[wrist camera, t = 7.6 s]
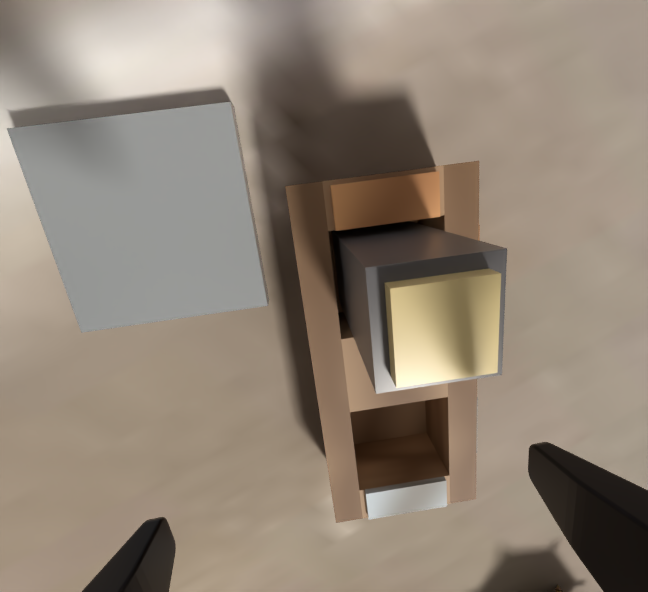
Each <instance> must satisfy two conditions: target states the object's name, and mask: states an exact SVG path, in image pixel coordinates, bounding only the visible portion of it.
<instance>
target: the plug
mask: <svg viewBox="0 0 648 592" xmlns="http://www.w3.org/2000/svg"><path fill="white" fill-rule="evenodd" d="M332 236H333V245H334V255H335V264H336V273H337V282H338V291H339V300H340V304H341V307H342V309H343V312H344V314H345V317H346V320H347V322H348V325H349V327H350V330H351V332H352V335H353V337H354V340H355V342H356V345H357V347H358V350H359V352H360V355H361V357H362V360H363V362H364V365H365V367H366V370H367V373H368V375H369V378H370V380H371V383H372V385H373V388H374V390H375V393H376V394H378V393H385V392H392V391H398V390H405V389H412V388H418V387H425V386H432V385H438V384H445V383H451V382H458V381H465V380H471V379H478V378H485V377H491V376H498V375H502V358H503V334H504V310H505V285H506V261H507V248H503V247H500V246H496V245H492V244H489V243H485V242H482V241H478V240H475V239H471V238H468V237H464V236H461V235H457V234H453V233H450V232H446V231H443V230H439V229H436V228H432V227H429V226H425V225H422V224H418V223H415V222H411V221H405V222H398V223H391V224H383V225H376V226H369V227H361V228H354V229H347V230H340V231H336V230H333V231H332Z"/></svg>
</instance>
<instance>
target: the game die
mask: <svg viewBox="0 0 648 592" xmlns="http://www.w3.org/2000/svg"><path fill="white" fill-rule="evenodd" d="M555 590H556V592H563V591H562V590H561V588H560V587H559V586H558V584H557V587H556V589H555Z"/></svg>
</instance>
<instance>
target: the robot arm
mask: <svg viewBox="0 0 648 592" xmlns="http://www.w3.org/2000/svg"><path fill="white" fill-rule="evenodd" d="M528 472H529V476H530V479H531V481H532V483H533V484H534V486H535V488H536V489H537V491H538V493H539V494H540V496H541V498H542V499H543V501H544V502H545V504H546V506H547V507H548V509H549V511H550V512H551V514H552V516H553V517H554V519H555V521H556V522H557V524H558V526H559V527H560V529H561V531H562V532H563V534H564V536H565V537H566V539H567V540H568V542H569V544H570V545H571V547H572V548H573V550H574V551H575V552H576V554H577V555H578V557H579V558H580V560H581V561H582V562H583V564H584V565H585V566H586V568H587V569H588V571H589V572H590V573H591V575H592V576H593V577H594V579H595V580H596V582H597V583H598V584H599V586H600V587H601V589H602V590H603V591H604V592H648V490H646V489H644V488H642V487H640V486H638V485H636V484H634V483H631V482H629V481H627V480H625V479H623V478H621V477H619V476H617V475H615V474H613V473H611V472H609V471H607V470H605V469H603V468H601V467H598V466H596V465H594V464H592V463H590V462H588V461H586V460H584V459H582V458H580V457H578V456H576V455H574V454H572V453H570V452H568V451H565V450H563V449H561V448H559V447H557V446H555V445H553V444H551V443H548V442H542V443H537V444H532V445H531V446H530V448H529V462H528ZM175 549H176V547H175V540H174V538H173V535H172V532H171V530H170V527H169V524H168V522H167V520H166V518H164V517H160V518H154V519H149V520H147V521H145V522H144V523H143V524H142V525H141V526H140V528H139V529H138V530H137V531H136V532H135V533H134V534H133V535H132V536H131V538H130V539H129V540H128V541H127V542H126V543H125V544H124V545H123V546H122V548H121V549H120V550H119V551H118V552H117V553H116V554H115V555H114V556H113V558H112V559H111V560H110V561H109V562H108V563H107V564H106V565H105V566H104V567H103V569H102V570H101V571H100V572H99V573H98V574H97V575H96V576H95V577H94V579H93V580H92V581H91V582H90V583H89V584H88V585H87V586H86V587H85V589H84V590H83V591H82V592H169V587H170V581H171V575H172V569H173V563H174V557H175Z"/></svg>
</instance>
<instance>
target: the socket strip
mask: <svg viewBox="0 0 648 592" xmlns="http://www.w3.org/2000/svg"><path fill="white" fill-rule="evenodd" d="M285 188H286V195H287V202H288V208H289V215H290V221H291V228H292V235H293V241H294V248H295V254H296V261H297V268H298V274H299V281H300V287H301V294H302V301H303V307H304V314H305V320H306V327H307V334H308V340H309V347H310V353H311V360H312V367H313V373H314V380H315V386H316V393H317V400H318V406H319V413H320V419H321V426H322V433H323V439H324V446H325V452H326V459H327V466H328V472H329V479H330V485H331V492H332V499H333V505H334V512H335V518H336V523H338V522H344V521H350V520H356V519H362V518H369V519H375V518H381V517H387V516H393V515H399V514H404V513H410V512H416V511H422V510H428V509H434V508H440V507H446V506H447V504H450V503H456V502H462V501H467V500H473V499H476V453H477V414H478V397H477V379H471V380H465V381H458V382H451V383H445V384H438V385H432V386H425V387H418V388H412V389H405V390H398V391H392V392H385V393H378V394H376V393H375V390H374V388H373V385H372V383H371V380H370V378H369V375H368V373H367V370H366V367H365V365H364V362H363V360H362V357H361V355H360V352H359V350H358V347H357V345H356V342H355V340H354V337H353V335H352V332H351V330H350V327H349V325H348V322H347V320H346V317H345V314H344V312H343V309H342V307H341V304H340V300H339V291H338V282H337V273H336V264H335V255H334V245H333V236H332V231H333V230H336V231H340V230H347V229H354V228H361V227H369V226H376V225H383V224H391V223H398V222H405V221H411V222H415V223H418V224H422V225H425V226H429V227H432V228H436V229H439V230H443V231H446V232H450V233H453V234H457V235H461V236H464V237H468V238H471V239H475V240H478V241H479V161H474V162H466V163H458V164H451V165H443V166H435V167H428V168H420V169H412V170H405V171H397V172H389V173H382V174H374V175H367V176H359V177H351V178H344V179H336V180H328V181H321V182H313V183H305V184H298V185H290V186H285Z"/></svg>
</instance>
